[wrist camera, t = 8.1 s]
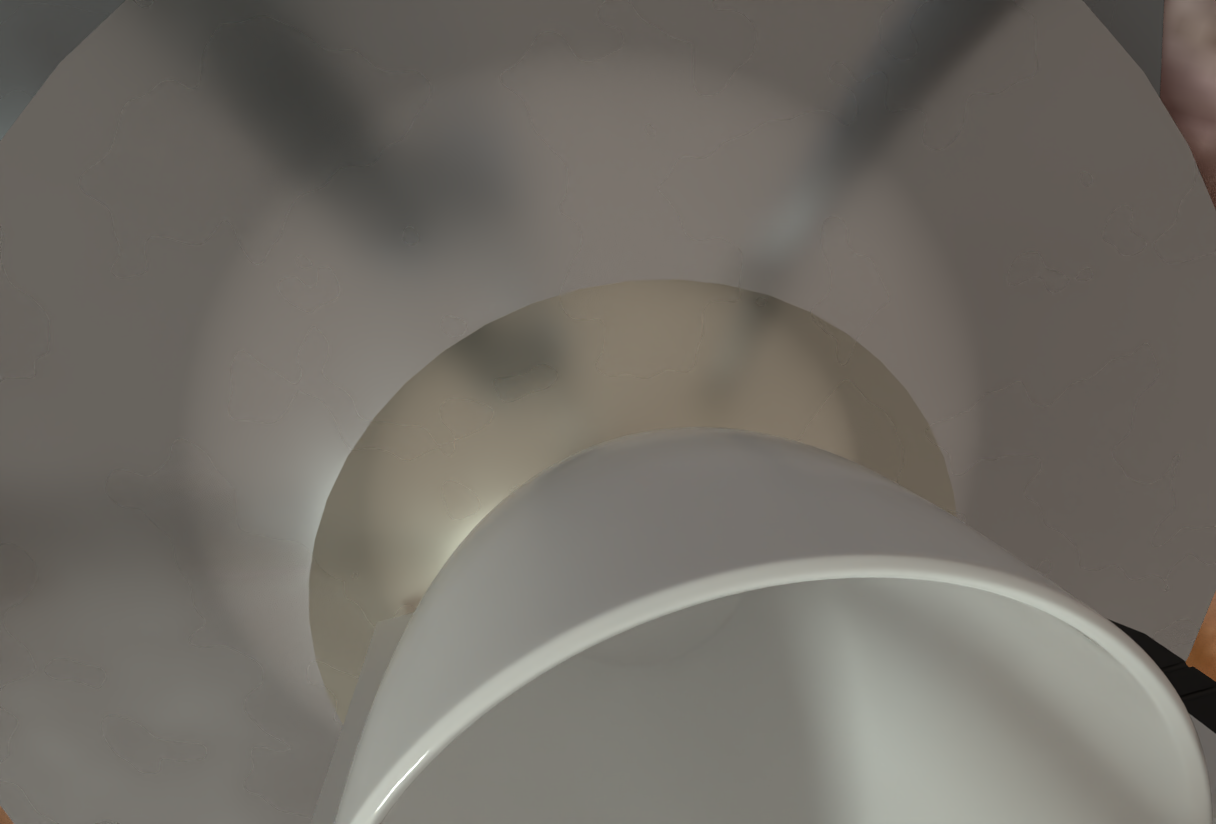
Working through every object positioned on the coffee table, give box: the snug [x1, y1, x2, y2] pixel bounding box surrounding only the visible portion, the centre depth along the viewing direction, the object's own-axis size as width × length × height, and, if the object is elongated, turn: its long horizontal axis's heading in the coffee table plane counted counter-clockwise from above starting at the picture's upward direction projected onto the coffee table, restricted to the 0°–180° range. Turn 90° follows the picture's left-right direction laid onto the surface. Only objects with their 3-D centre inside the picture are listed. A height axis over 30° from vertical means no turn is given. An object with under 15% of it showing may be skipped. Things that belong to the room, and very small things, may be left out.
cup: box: [333, 426, 1213, 824], centre depth 9 cm, size 8×10×7 cm
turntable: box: [0, 0, 1216, 824], centre depth 10 cm, size 24×24×10 cm
